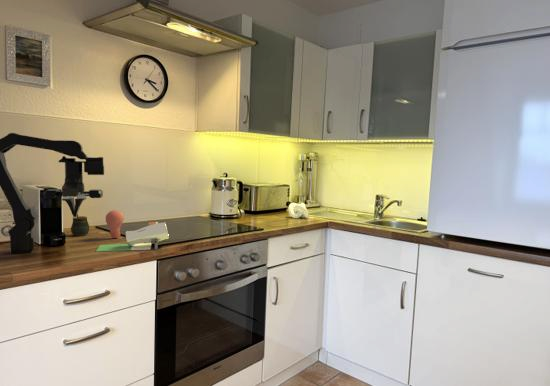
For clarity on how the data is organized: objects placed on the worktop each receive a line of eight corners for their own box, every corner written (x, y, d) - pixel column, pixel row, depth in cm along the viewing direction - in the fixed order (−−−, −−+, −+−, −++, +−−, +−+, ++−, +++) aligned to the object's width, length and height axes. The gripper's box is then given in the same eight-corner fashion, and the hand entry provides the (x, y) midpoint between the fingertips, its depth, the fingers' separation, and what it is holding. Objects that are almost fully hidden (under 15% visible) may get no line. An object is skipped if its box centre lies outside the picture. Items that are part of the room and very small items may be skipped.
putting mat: (95, 251, 140) (95, 227, 139) (100, 245, 149) (99, 222, 148) (157, 249, 146) (157, 225, 145) (157, 243, 155) (157, 221, 154)
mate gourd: (90, 233, 173) (89, 211, 172) (88, 236, 166) (88, 213, 165) (72, 234, 170) (71, 211, 169) (69, 237, 163) (69, 214, 162)
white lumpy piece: (312, 217, 235) (313, 203, 234) (300, 219, 226) (300, 204, 225) (297, 215, 242) (298, 201, 241) (285, 217, 233) (286, 203, 232)
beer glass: (124, 227, 146) (164, 218, 149) (128, 234, 152) (166, 226, 155) (126, 243, 142) (167, 234, 146) (130, 250, 148) (169, 241, 152)
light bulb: (103, 237, 163) (102, 210, 162) (119, 235, 168) (119, 208, 167) (109, 240, 158) (109, 211, 157) (126, 238, 163) (126, 210, 162)
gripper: (38, 175, 131) (39, 220, 132) (97, 176, 136) (98, 219, 138) (47, 174, 142) (49, 216, 143) (102, 174, 147) (103, 215, 148)
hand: (74, 216), depth 143 cm, fingers closed
